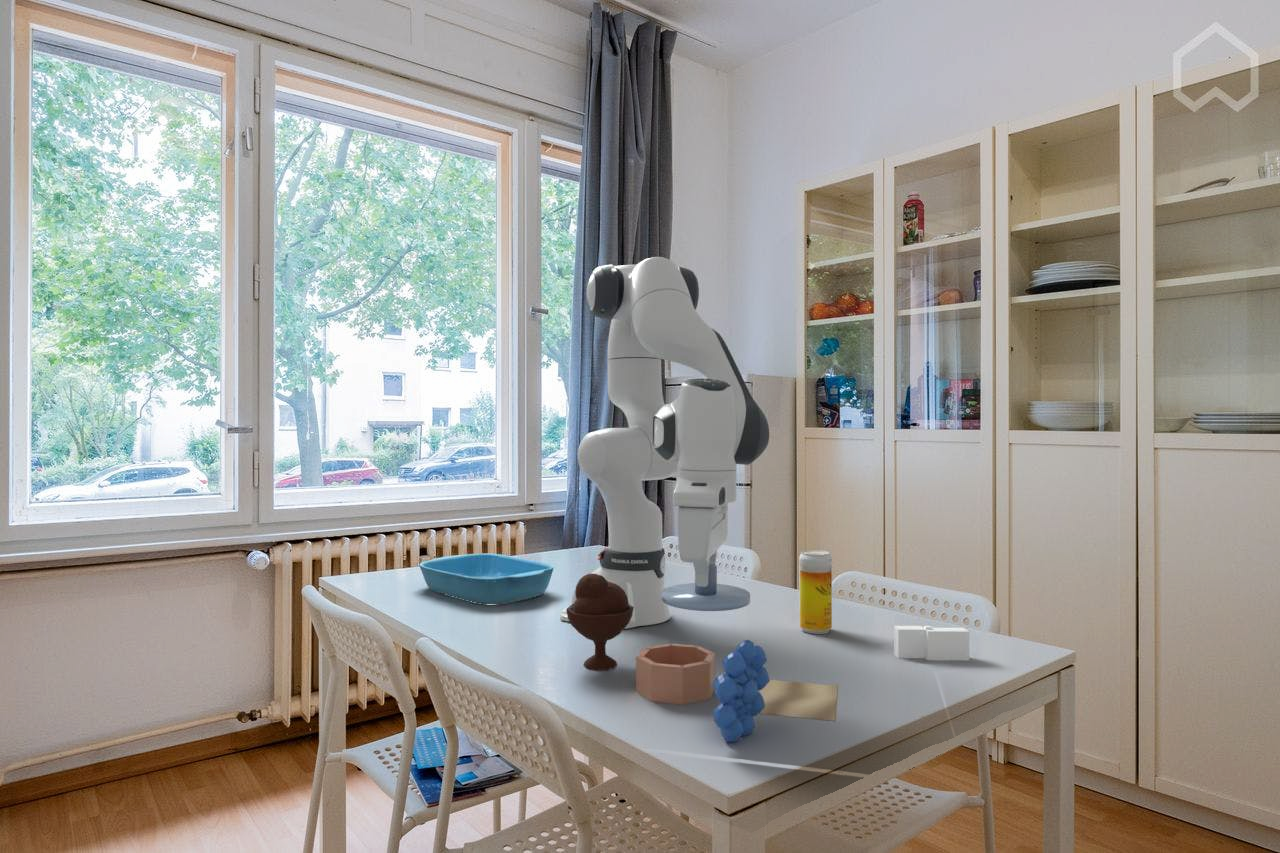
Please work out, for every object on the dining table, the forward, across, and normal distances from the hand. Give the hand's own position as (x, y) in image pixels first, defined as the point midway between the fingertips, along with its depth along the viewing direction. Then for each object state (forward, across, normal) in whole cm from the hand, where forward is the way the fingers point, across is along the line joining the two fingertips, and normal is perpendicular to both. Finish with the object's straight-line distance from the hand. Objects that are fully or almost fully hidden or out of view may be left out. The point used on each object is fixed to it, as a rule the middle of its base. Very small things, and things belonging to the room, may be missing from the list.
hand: (705, 582), depth 112 cm
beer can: (+17, -39, +15) cm, 45 cm away
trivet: (+16, 0, +12) cm, 20 cm away
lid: (+3, 0, 0) cm, 3 cm away
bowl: (+16, +1, -4) cm, 17 cm away
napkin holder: (+17, -27, +34) cm, 47 cm away
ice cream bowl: (+17, -8, -19) cm, 27 cm away
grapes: (+16, +14, +7) cm, 23 cm away
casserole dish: (+18, -54, -62) cm, 84 cm away
